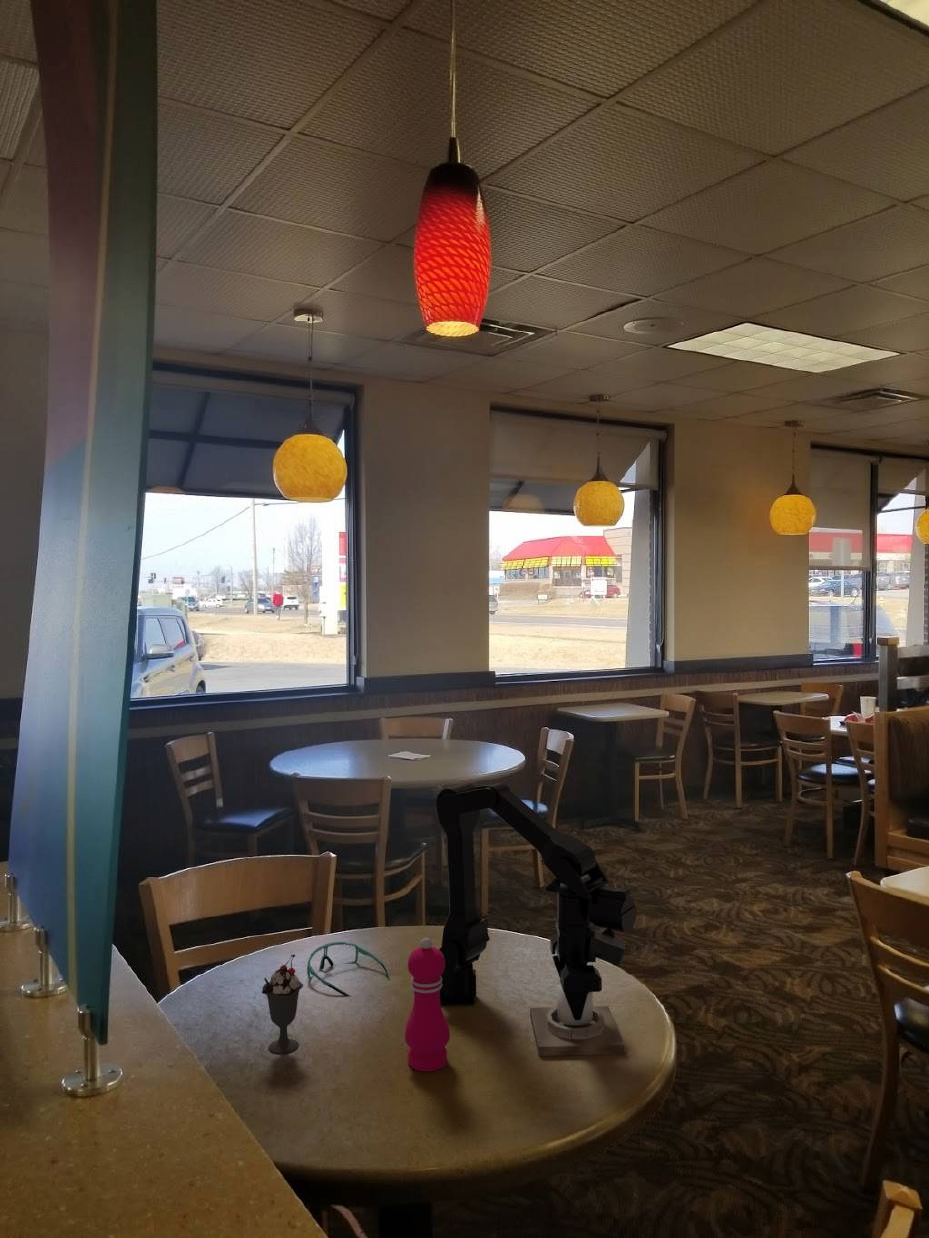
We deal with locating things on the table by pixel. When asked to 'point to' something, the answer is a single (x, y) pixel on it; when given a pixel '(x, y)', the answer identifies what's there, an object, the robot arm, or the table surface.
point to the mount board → (575, 1034)
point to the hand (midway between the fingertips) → (574, 1010)
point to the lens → (565, 1011)
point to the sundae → (283, 1005)
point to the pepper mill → (426, 1010)
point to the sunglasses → (310, 969)
